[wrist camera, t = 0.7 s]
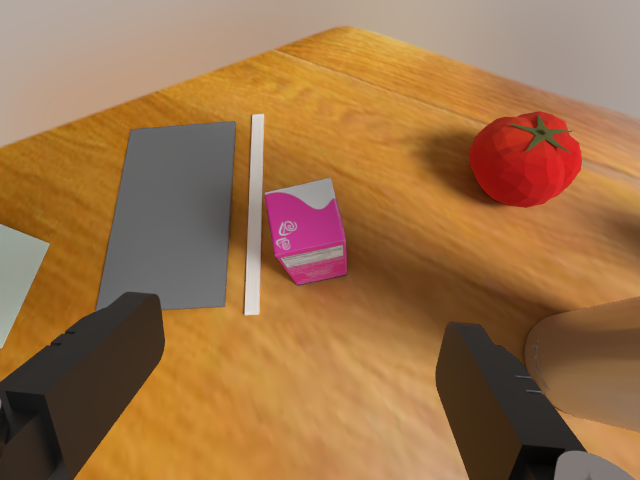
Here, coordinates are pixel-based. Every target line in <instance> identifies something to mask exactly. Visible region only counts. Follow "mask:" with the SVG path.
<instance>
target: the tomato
mask: <svg viewBox="0 0 640 480" xmlns="http://www.w3.org/2000/svg"><path fill="white" fill-rule="evenodd" d="M569 132H572V131H568V129H567V126H566V123H565V121H563V120H561V119H559V118H557V117H556V116H554V115H552V114H549V113H545V112H540V111H539V112H534V113H529V114H523V115H520V116H518V117H503V118H499V119H496V120H495V121H493V122H492V123H490V124H489V125H487V126H486V127H485V128H484V129H483V130H481V131H480V132H479V133H478V135H477V136H476V138H475V140H474V142H473V144H472V145H471V147H470V166H471V168H472V171H473V173H474V175H475V178H476V180H477V182H478V183H479V185H480V186H481V187H482V189H483V190H484V191H485V192H486V193H487V194H488V195H489V196H490V197H492V198H493V199H495V200H497V201H499V202H501V203H504V204H506V205H509V206H517V207H531V206H535V205H540V204H544V203H545V202H546V201H548V200H549V199H551V198H553V197H555V196H557V195H559V194H560V193H561V192H562V191H563V190H564V189H566V188H567V187H568V186H569V185H570V184H571V183H572V181H573V180H574V179H575V177H576V176H577V174H578V173H579V172H580V170H581V164H582V158H581V150H580V146H579V143H578V142H577V141H576V140H575V139H574V138H572V137H571V136H570V135H569Z"/></svg>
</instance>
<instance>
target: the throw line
mask: <svg viewBox="0 0 640 480" xmlns="http://www.w3.org/2000/svg"><path fill="white" fill-rule="evenodd" d="M263 145H264V114H255V115H252V139H251V164H250V190H249V215H248V240H247V266H246V291H245V315H259V312H260V270H261V228H262V186H263Z"/></svg>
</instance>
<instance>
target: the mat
mask: <svg viewBox="0 0 640 480" xmlns="http://www.w3.org/2000/svg"><path fill="white" fill-rule="evenodd" d="M235 132H236V123H235V121H231V122H218V123H206V124H193V125H180V126H168V127H155V128H143V129H131V132H130V138H129V143H128V148H127V153H126V158H125V163H124V168H123V173H122V179H121V184H120V189H119V194H118V199H117V204H116V209H115V215H114V220H113V225H112V230H111V235H110V240H109V245H108V250H107V256H106V261H105V266H104V271H103V276H102V281H101V286H100V292H99V297H98V302H97V307H96V311H98V310H100V309H102V308H106V307H108V306H109V305H110V304H111V303H112V302H114V301H115V300H116V299H117V298H119V297H120V296H121V295H122V294H124V293H125V292H140V293H151V294H156V295H158V297H159V299H160V303H161V310H172V309H192V308H212V307H225V298H226V281H227V265H228V248H229V232H230V215H231V198H232V182H233V165H234V149H235Z"/></svg>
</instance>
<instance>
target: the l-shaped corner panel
mask: <svg viewBox="0 0 640 480" xmlns="http://www.w3.org/2000/svg"><path fill="white" fill-rule="evenodd" d="M49 245H50V243H47V242H45V241H42V240H40V239H37V238H35V237H32V236H30V235H27V234H25V233H22V232H20V231H17V230H14V229H12V228H9V227H7V226H4V225H2V224H0V348H2V347H3V345H4V343H5V341H6V339H7V336H8V334H9V332H10V330H11V328H12V326H13V323H14V321H15V319H16V317H17V315H18V313H19V310H20V308H21V306H22V304H23V302H24V300H25V297H26V295H27V293H28V291H29V289H30V287H31V284H32V282H33V280H34V278H35V276H36V274H37V271H38V269H39V267H40V265H41V263H42V260H43V258H44V256H45V254H46V252H47V250H48V247H49Z"/></svg>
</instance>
